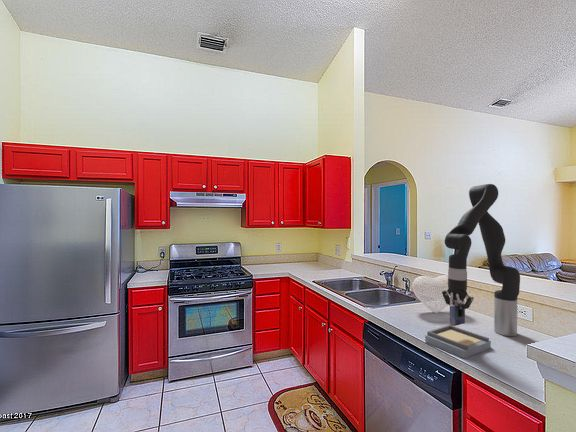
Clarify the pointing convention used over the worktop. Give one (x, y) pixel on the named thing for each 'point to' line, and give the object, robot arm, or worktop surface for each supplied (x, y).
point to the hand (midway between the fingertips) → (457, 315)
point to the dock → (457, 341)
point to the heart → (431, 291)
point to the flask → (456, 315)
